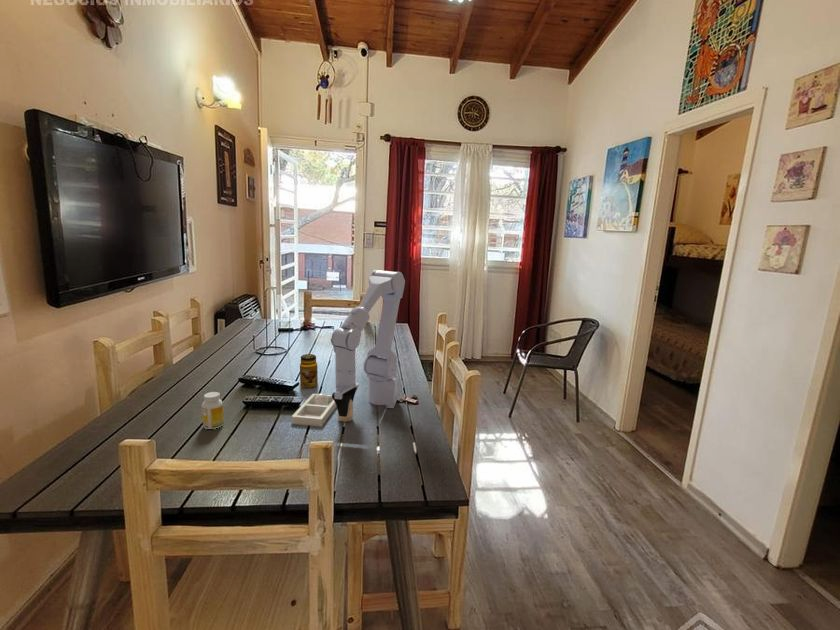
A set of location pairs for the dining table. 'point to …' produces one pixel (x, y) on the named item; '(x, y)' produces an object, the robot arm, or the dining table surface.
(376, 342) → the robot arm
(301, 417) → the holder
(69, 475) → the dining table surface
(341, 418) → the brown egg
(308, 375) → the condiment
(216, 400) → the supplement bottle
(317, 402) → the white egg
